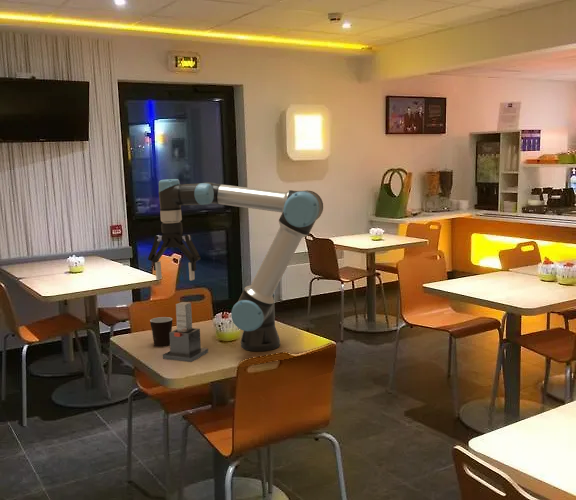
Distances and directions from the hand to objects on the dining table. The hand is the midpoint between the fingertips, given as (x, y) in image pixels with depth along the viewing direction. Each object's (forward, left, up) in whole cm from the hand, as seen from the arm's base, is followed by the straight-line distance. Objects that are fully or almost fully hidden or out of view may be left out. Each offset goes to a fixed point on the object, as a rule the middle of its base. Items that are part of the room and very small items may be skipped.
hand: (175, 279), depth 227 cm
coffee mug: (+13, -10, -28) cm, 33 cm away
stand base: (-4, +1, -28) cm, 28 cm away
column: (-4, +1, -26) cm, 27 cm away
